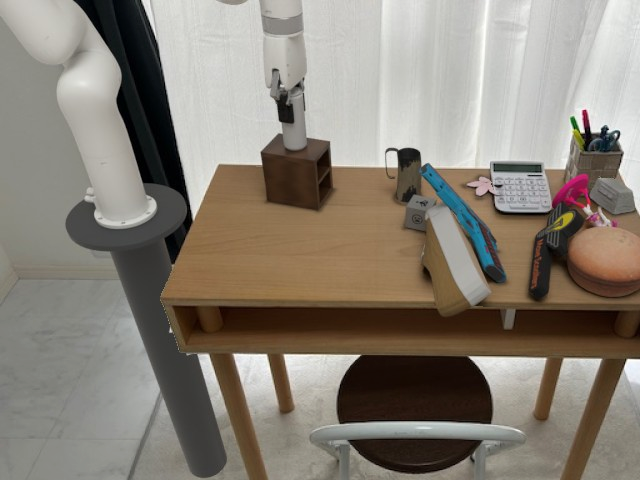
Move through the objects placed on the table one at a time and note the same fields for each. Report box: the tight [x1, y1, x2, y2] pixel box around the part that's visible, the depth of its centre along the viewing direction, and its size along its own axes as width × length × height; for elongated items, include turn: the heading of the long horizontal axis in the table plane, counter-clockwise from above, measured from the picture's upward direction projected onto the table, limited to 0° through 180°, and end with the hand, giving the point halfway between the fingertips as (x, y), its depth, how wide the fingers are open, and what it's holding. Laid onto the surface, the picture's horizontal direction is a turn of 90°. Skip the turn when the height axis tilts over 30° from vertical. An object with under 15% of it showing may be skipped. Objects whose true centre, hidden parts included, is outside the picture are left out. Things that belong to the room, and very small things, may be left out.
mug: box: [384, 147, 423, 206], centre depth 134 cm, size 8×6×12 cm
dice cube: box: [404, 195, 438, 232], centre depth 128 cm, size 5×5×5 cm
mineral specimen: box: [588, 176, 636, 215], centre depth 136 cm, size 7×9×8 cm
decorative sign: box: [528, 201, 585, 300], centre depth 119 cm, size 27×2×10 cm
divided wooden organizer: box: [259, 132, 334, 211], centre depth 134 cm, size 12×9×12 cm
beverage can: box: [280, 86, 308, 151], centre depth 126 cm, size 5×5×12 cm
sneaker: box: [420, 200, 492, 318], centre depth 115 cm, size 10×29×10 cm
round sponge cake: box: [566, 226, 640, 298], centre depth 116 cm, size 16×16×10 cm
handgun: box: [419, 162, 508, 283], centre depth 115 cm, size 23×3×15 cm
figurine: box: [551, 173, 618, 228], centre depth 129 cm, size 10×10×15 cm
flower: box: [466, 176, 501, 197], centre depth 141 cm, size 10×10×2 cm
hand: (292, 115), depth 125 cm, fingers closed on beverage can, 4 cm apart
